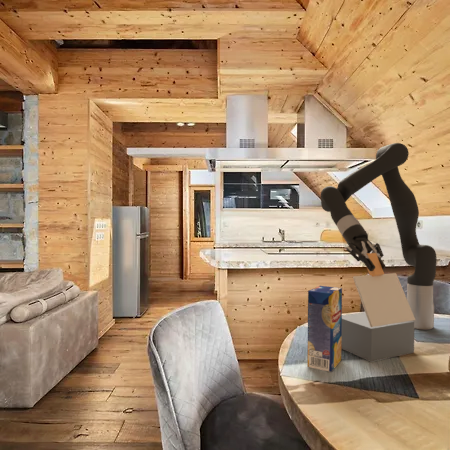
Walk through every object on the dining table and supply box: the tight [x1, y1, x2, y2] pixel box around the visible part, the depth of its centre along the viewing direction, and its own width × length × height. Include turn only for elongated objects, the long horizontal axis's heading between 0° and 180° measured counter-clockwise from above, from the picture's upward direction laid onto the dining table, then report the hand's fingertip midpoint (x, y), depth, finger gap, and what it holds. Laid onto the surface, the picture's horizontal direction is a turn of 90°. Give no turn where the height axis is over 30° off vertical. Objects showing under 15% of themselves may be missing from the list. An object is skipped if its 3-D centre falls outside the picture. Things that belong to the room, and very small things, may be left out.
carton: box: [341, 311, 415, 363], centre depth 120 cm, size 19×16×10 cm
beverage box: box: [306, 285, 343, 373], centre depth 107 cm, size 7×11×22 cm, turn 147°
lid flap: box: [352, 252, 415, 327], centre depth 117 cm, size 19×23×2 cm
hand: (378, 269), depth 118 cm, fingers closed on lid flap, 4 cm apart
